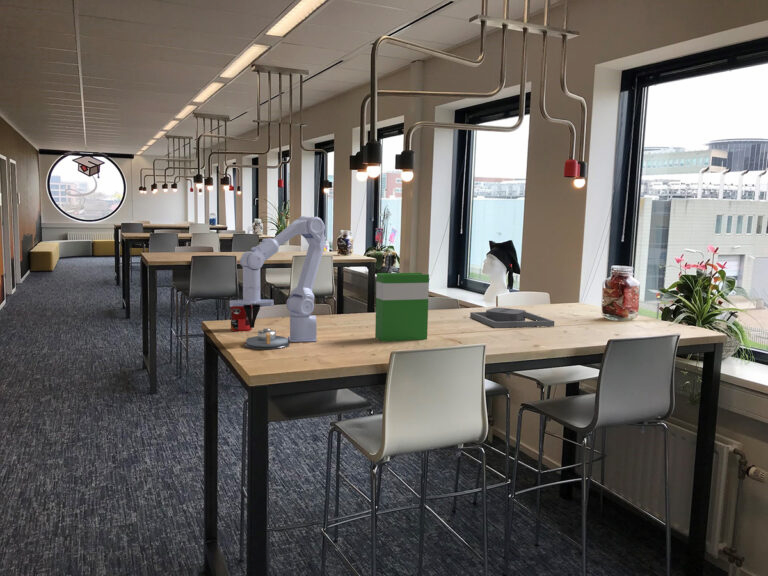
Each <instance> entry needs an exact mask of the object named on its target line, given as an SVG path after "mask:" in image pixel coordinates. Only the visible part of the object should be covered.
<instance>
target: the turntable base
mask: <svg viewBox="0 0 768 576" xmlns="http://www.w3.org/2000/svg"><path fill="white" fill-rule="evenodd" d="M244 347H245V348H247V349H250V350H258V351H272V350H273V349H274V350H280V349H281V348H282V349H286V348H287V347H290V341H288V344H286V345H283V346H277V347H254V346H249V345H247V344H246V342H244ZM285 347H286V348H285Z"/></svg>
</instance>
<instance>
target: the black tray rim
mask: <svg viewBox="0 0 768 576" xmlns="http://www.w3.org/2000/svg"><path fill="white" fill-rule="evenodd" d="M470 317H471V318H470ZM526 317H528V318H531V319H534V320H537V321H534V320H531V319H530V320H525V321H514V322H495V321H493V320H490V319H488V318H486V311H470V315H469V318H470V319H473V320H475V321H477V322H480V323H482V324H483V325H484V324H485V325H487V326H489V327H491V328H493V329H508V328H509V329H511V328H512V327H519V328H535V327H534V326H554V327H555V320H554V319H548V318H546V317H544V316H541V315H537V314H534V313H531V312H528V311H526V313H525V318H526ZM528 318H527V319H528Z"/></svg>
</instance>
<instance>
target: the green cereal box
mask: <svg viewBox="0 0 768 576" xmlns="http://www.w3.org/2000/svg"><path fill="white" fill-rule="evenodd" d="M375 287H376V289H375V290H376V291H375V293H376V294H375V331H374V332H375V333H374V334H375V339H376V338H377V339H376V340H378V339H379V340H378V341H380V340H381V341H380V342H382V341H387V342H402V341H403V342H405V341H419V340H420V341H421V340H422V341H423V340H428V327H429V326H428V324H429V322H428V321H429V294H430V293H429V291H430V290H429V289H430V288H429V287H430V274H429V273H428V274H424V273H422V272H376V286H375Z"/></svg>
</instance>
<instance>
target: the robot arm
mask: <svg viewBox="0 0 768 576" xmlns="http://www.w3.org/2000/svg"><path fill="white" fill-rule="evenodd" d="M325 230H326V225H325V223H324V221H323V220H322V218H320V217H318V216H299V217H298V218H297V219H295V220H293V222H291V223H290V224H289V225H288V226H287V227H285V228H284V229H283V230H282V231H281V232H280V233H278V234H277V235H276V236H274V237H273V238H272V237H268V238H263V239H262V240H261V242H260V243H258V244H257V245H256V246H253V247H251V248H250V251H246V252H244V253H242V255H241V257H240V259H239V264H240V266H241V268H242V299H230V300H229V307H230V308H231V307H233V306H244V310H245V312H246V314H247V317H248V320H249V324H250V328H252V329H253V328H254V329H255V324H256V320H257V316H258V314H259V312H260V311H261V307H267V306H268V307H269V306H270V307H274V305H275V304H274V299H261V268H262V267H263V265H264V263H265V262H266V261H267V260H269V259H270V258H271V257H272V256H274V255H276V254H277V253H278V252H279V248H280V246H282V245H283V244H285V243H287V242H288V241H290V240H291V239H293V238H294V237H296V236H297V235H301V236H302V237H303V238H304V239H305V240H306V243H307V244H308V247H307V251H306V255H305V258H304V262H303V265H302V268H301V271H300V274H299V275H300V276H299V278H298V282H297V286H296V287H295V288H294V289H293V290H291V291H292V292H291V293H290V296H289V297H288V299H287V300H286V309H287V310H288V311H289V336H287V339H288V342H289V343H297V342H298V343H299V342H303V343H305V342H317V341H318V340H317V335H318V334H317V333H318V331H317V329H318V326H317V315H311V314H312V313H313V312H314V309H315V304H314V303H315V302H314V301H315V294H314V292H313V289H314V286H315V285H314V284H315V281H316V279H317V278H316V277H317V274H318V271H319V267H320V264H321V259H322V257H323V253H324V250H325V246H326V238H325ZM251 306H252V309H251ZM251 311H252V319H251Z"/></svg>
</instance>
